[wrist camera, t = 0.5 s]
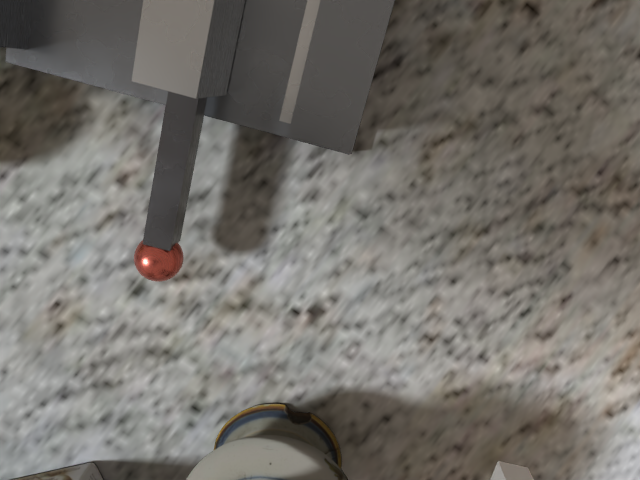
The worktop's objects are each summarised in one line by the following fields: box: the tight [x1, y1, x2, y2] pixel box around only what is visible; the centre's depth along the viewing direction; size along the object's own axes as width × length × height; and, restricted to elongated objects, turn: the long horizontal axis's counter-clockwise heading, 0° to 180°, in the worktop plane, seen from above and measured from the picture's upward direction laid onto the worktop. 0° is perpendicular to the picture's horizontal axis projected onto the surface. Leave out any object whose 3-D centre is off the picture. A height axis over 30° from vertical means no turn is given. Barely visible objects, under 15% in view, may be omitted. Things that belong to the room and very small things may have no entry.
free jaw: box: [132, 0, 245, 281], centre depth 27 cm, size 3×20×7 cm, turn 165°
